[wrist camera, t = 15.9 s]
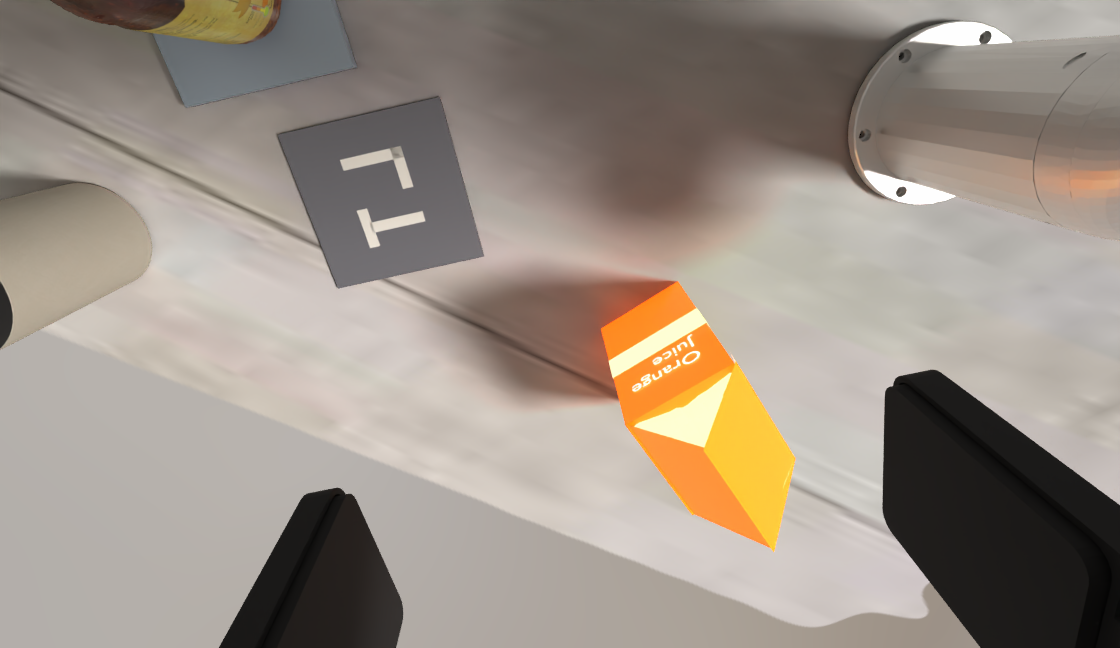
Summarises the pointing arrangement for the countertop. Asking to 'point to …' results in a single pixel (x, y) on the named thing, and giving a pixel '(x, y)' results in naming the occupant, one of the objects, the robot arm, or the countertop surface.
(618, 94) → the countertop surface
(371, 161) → the tile
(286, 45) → the pad
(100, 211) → the travel mug
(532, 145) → the countertop surface
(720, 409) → the orange juice
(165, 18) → the sauce bottle
